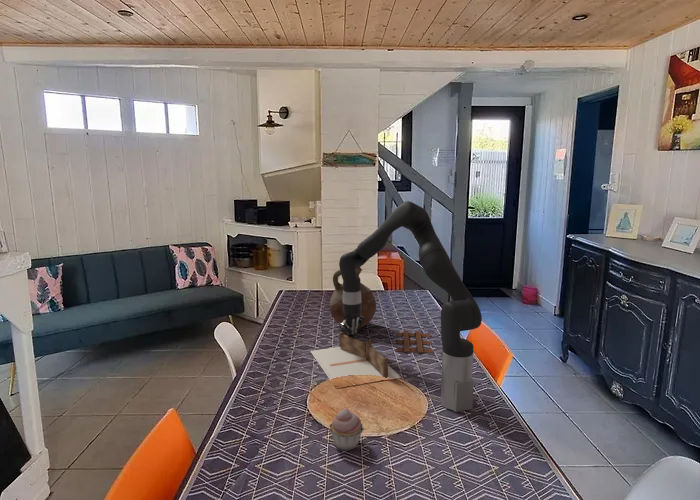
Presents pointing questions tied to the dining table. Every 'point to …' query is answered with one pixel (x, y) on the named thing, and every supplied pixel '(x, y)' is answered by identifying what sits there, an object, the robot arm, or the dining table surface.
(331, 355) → the card
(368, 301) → the jug
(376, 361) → the fence fixed
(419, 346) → the decorative fence
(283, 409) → the dining table surface
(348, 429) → the cupcake
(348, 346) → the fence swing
